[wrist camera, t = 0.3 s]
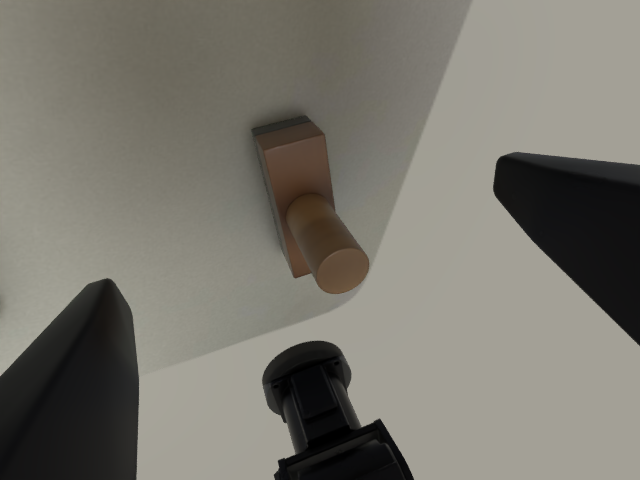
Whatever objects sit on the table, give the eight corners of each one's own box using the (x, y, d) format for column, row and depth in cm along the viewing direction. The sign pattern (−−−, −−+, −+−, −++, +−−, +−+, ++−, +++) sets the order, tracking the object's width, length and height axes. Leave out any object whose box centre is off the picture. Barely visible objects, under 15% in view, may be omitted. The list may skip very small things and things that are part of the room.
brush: (326, 235, 25) (380, 323, 19) (281, 250, 25) (322, 344, 19) (306, 114, 21) (370, 178, 14) (250, 128, 20) (292, 201, 14)
